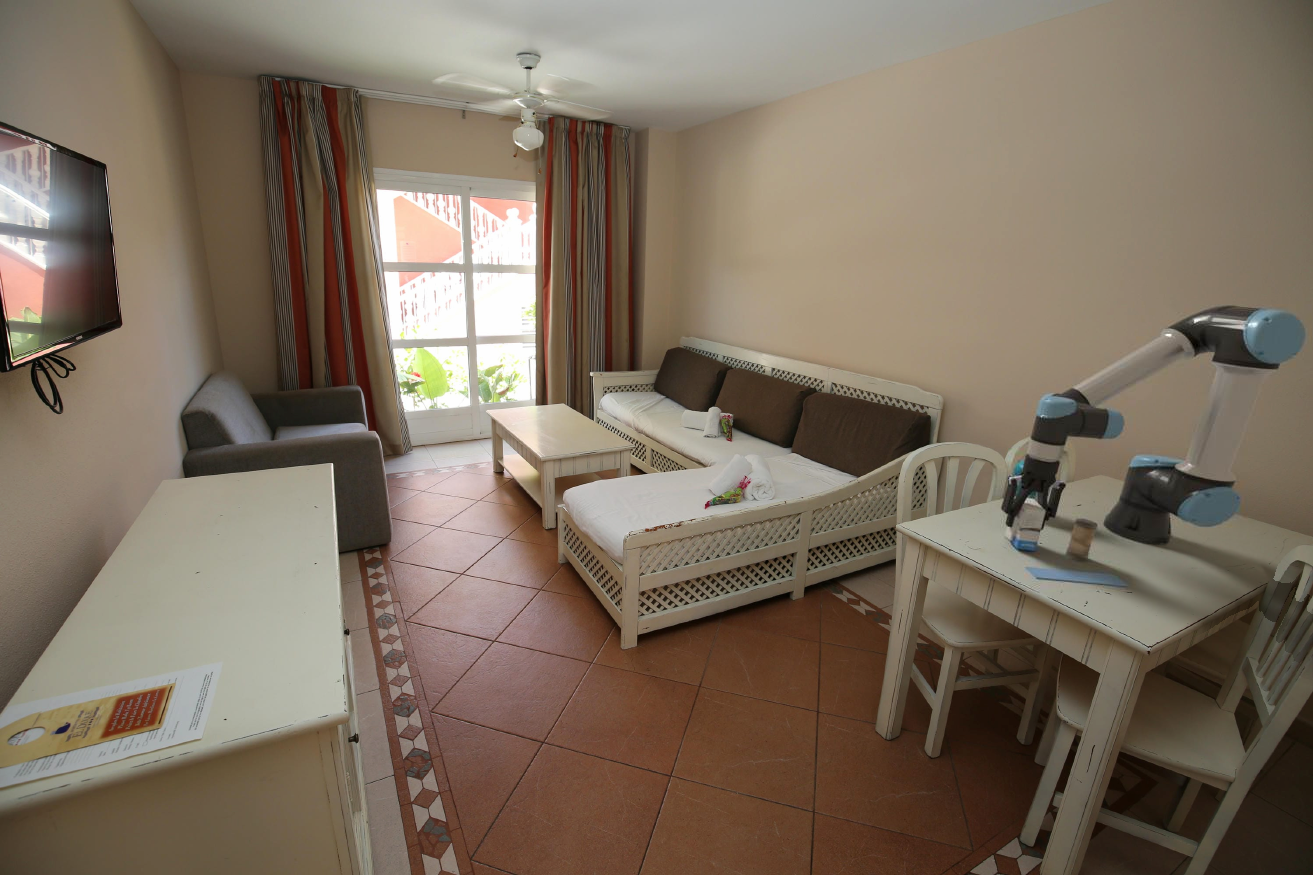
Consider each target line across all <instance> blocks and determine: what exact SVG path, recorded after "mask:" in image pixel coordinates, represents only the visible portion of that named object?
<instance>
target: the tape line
mask: <svg viewBox="0 0 1313 875" xmlns="http://www.w3.org/2000/svg"><path fill="white" fill-rule="evenodd" d="M1025 570H1027V571H1028V572H1029V573H1030V574H1031V575H1032V576H1033V577H1034V578H1035V579H1040V580H1041V579H1042V580H1049V581H1050V580H1052V581H1061V582H1062V581H1063V582H1070V583H1071V582H1073V583H1083V584H1095V585H1105V586H1114V587H1115V586H1116V587H1126V588H1128V587H1129V585H1128V584H1126V583H1125V581H1123V580H1122V579H1120V578H1119V577H1117V576H1116V575H1115V574H1112V573H1111V574H1109V573H1098V572H1088V571H1076V570H1067V569H1066V570H1065V569H1058V568H1057V569H1055V568H1044V567H1034V566H1025Z"/></svg>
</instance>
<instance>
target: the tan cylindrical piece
mask: <svg viewBox="0 0 1313 875" xmlns="http://www.w3.org/2000/svg"><path fill="white" fill-rule="evenodd" d="M1097 527H1098V523H1096V521H1093V520H1090V519H1086V518H1081V517H1080V518H1079V517H1078V518H1076V519H1075V521H1074V526H1073V530H1072V533H1071V536H1070V540H1069V542H1068V547H1067V548H1066V552H1065V555H1066V557H1067V558H1068V559H1071V560H1073V561H1076V562H1082V563H1083V562H1086V561H1087V560H1088V557H1089V552H1090V551H1091V550H1090V549H1091V547H1092V546H1091V545H1092V542H1093V540H1094V536H1095V533H1096V530H1097Z"/></svg>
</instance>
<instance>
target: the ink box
mask: <svg viewBox="0 0 1313 875" xmlns="http://www.w3.org/2000/svg"><path fill="white" fill-rule="evenodd" d="M1014 499H1015V498H1014ZM1045 512H1046V510H1044V509H1043V508H1042V507H1041V506H1040V505H1039V504H1038V503H1037V502H1036V501H1035V500H1034V499H1031V498H1027V499H1026V500H1025V502H1024V504H1023V505H1022V507H1021V509H1020V510H1019V512H1018V514H1017V515H1016V516H1017V517H1019V520H1018V524H1017V527H1016V531H1015V535H1014V538H1013V540H1010V539H1009V538H1008V537H1007V536H1006V533H1005V536H1006V538H1007V539H1008V540H1009V541H1010V543H1011V544H1012V545H1013V547H1015V549H1017V550H1025V551H1033V552H1036V550H1037V547H1038V542H1039V539H1040V534H1041V531H1042V530H1041V527H1042V523H1043V519H1044V516H1045ZM1006 526H1007V525H1006ZM1007 527H1008V526H1007ZM1007 527H1006V528H1007ZM1006 531H1007V529H1006ZM1006 531H1005V532H1006Z"/></svg>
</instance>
